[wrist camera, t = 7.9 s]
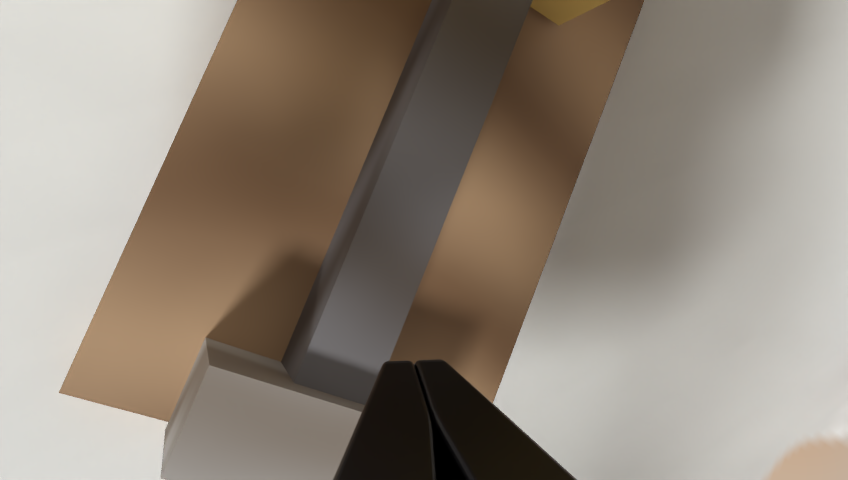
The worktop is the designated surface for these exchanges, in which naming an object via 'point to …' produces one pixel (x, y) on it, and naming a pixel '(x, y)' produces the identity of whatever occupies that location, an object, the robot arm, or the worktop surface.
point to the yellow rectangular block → (564, 8)
